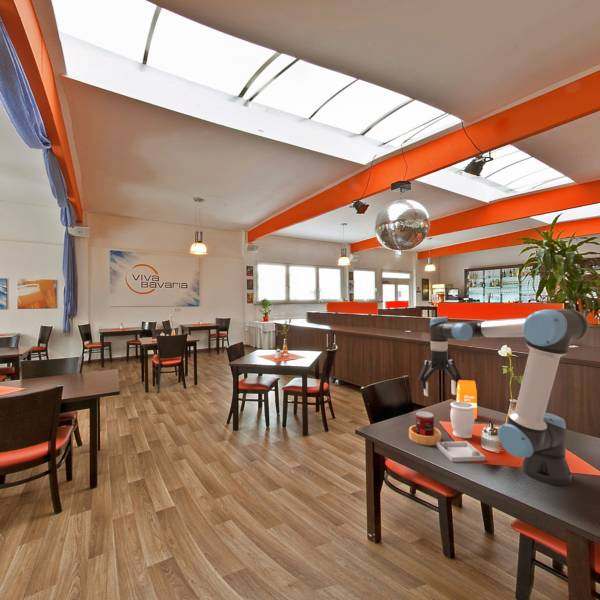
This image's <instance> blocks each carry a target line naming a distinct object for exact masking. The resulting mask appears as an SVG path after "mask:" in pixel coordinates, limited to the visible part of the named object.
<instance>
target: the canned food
mask: <svg viewBox="0 0 600 600" xmlns="http://www.w3.org/2000/svg"><path fill="white" fill-rule="evenodd" d="M434 419H435V417H434V414H433V413H431V412H430V411H423V410H420V411H417V412H416V413H415V425H416V434H419V435H423V436H434V428H435V426H434V424H435V420H434Z"/></svg>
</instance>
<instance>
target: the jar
mask: <svg viewBox="0 0 600 600" xmlns="http://www.w3.org/2000/svg"><path fill="white" fill-rule="evenodd" d="M450 406H451V408H450V415H449V416H450V422H451V427H452V430H453V431H452V435H453V436H455V437H458V438H461V439H471V438H472V437H473V434H472V432H473V430H474V426H475V421H476V419H475V416H474V411H473V409H474V408H475V406H474V405H473V404H470V403H467V402H457V401H452V402H450Z"/></svg>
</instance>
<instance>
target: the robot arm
mask: <svg viewBox="0 0 600 600" xmlns="http://www.w3.org/2000/svg"><path fill="white" fill-rule="evenodd" d="M589 331H590V323H589V319H588V318H587V317H586V316H585V315H584V314H583V313H582V312H580V311H578V310H575V309H571V308H562V309H560V308H556V309H552V308H551V309H550V308H547V309H541V310H538V311H537V310H536V311H534V312H533V313H530V314H529V315H528V316H527V317H518V318H504V319H503V318H502V319H492V320H476V321H461V322H459V321H457V322H456V321H455V322H454V321H453V322H451V321H448V318H447V317H444V316H437V317H431V318H430V320H429V333H430V334H429V335H430V339H429V340H430V341H429V342H430V349H431V350H430V360H427V359H424V360H423V361H424V362H423V366H422V368H421V370H420V372H419V374H418V377H417V380H419V382H421V388H422V389H423V395H424V396H425V397H429V382H428V379H429V378H430V377H431V376H432V374H433V373H434V372H436V371H440V370H441V371H445V372H446V373H447V374H448V375H449V377H450V378H451V384H450V385H451V386H450V387H451V388H450V389H451V395H453V396H457V387H458V381H459V380H462V379H463V378H462V376H461V374H460V372H459V370H458V368H457V366H456V363H455V360H454V359H452V358H451V359H448V358H449V351H448V349H449V347H448V345H449V344H448V342H449V341H448V339H450V340H456V341H468V340H470V339H482V338H483V339H485V338H525V339H526V342H525V345H526V347H527V348H528V349H529V353H528V356H527V360H526V364H525V369H524V372H523V376H522V380H521V384H520V389H519V392H518V397H517V401H516V405H515V408H514V410H511V411H509V413H508V416H507V421H506V423H503V424H501V425H500V426H499V427H498V428H497V429H498V430H497V439H498V442H499V443H500V444H501V446H502V448H503V449H504V450H505V451H506V452H507V453H508V454H510V455H511V456H512V457H513V456H514V457H515V458H519V459H521V458H522V459H523V460H522V462H521V468H522V469H521V470H522V471H523V473H524V474H525V475H527V476H529V477H530V478H532V479H533V480H536V481H538V482H540V483H541V482H542V483H545V484H549V485H556V486H567V485H570V484H571V483H572V472H571V470H570V467H569V465H568V462H567V459H566V454H567V453H566V451H567V450H566V448H567V446H566V444H567V443H566V442H567V441H566V439H567V432H566V431H567V428H566V427H567V426H566V421H565V419H564V418H562V417H561V416H558V415H556V414H553V413H549V412H546V411H547V407H548V404H549V400H550V396H551V392H552V388H553V386H554V381H555V378H556V375H557V371H558V366H559V363H560V360H561V357H563V356H566V355H568V353H569V349H570V346H571V343H576V342H578V341H580V340H582V339H584V338H585V337H586V335H588V333H589ZM448 365H450V368H451V369H450V368H449V367H448ZM429 366H430V367H429ZM452 371H453V372H452Z"/></svg>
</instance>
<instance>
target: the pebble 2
mask: <svg viewBox="0 0 600 600" xmlns="http://www.w3.org/2000/svg"><path fill="white" fill-rule="evenodd" d="M478 451H479V450H478ZM478 451H476V450H474V451H472V456H480V453H481V452H480V451H479V452H480V453H479V452H478Z"/></svg>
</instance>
